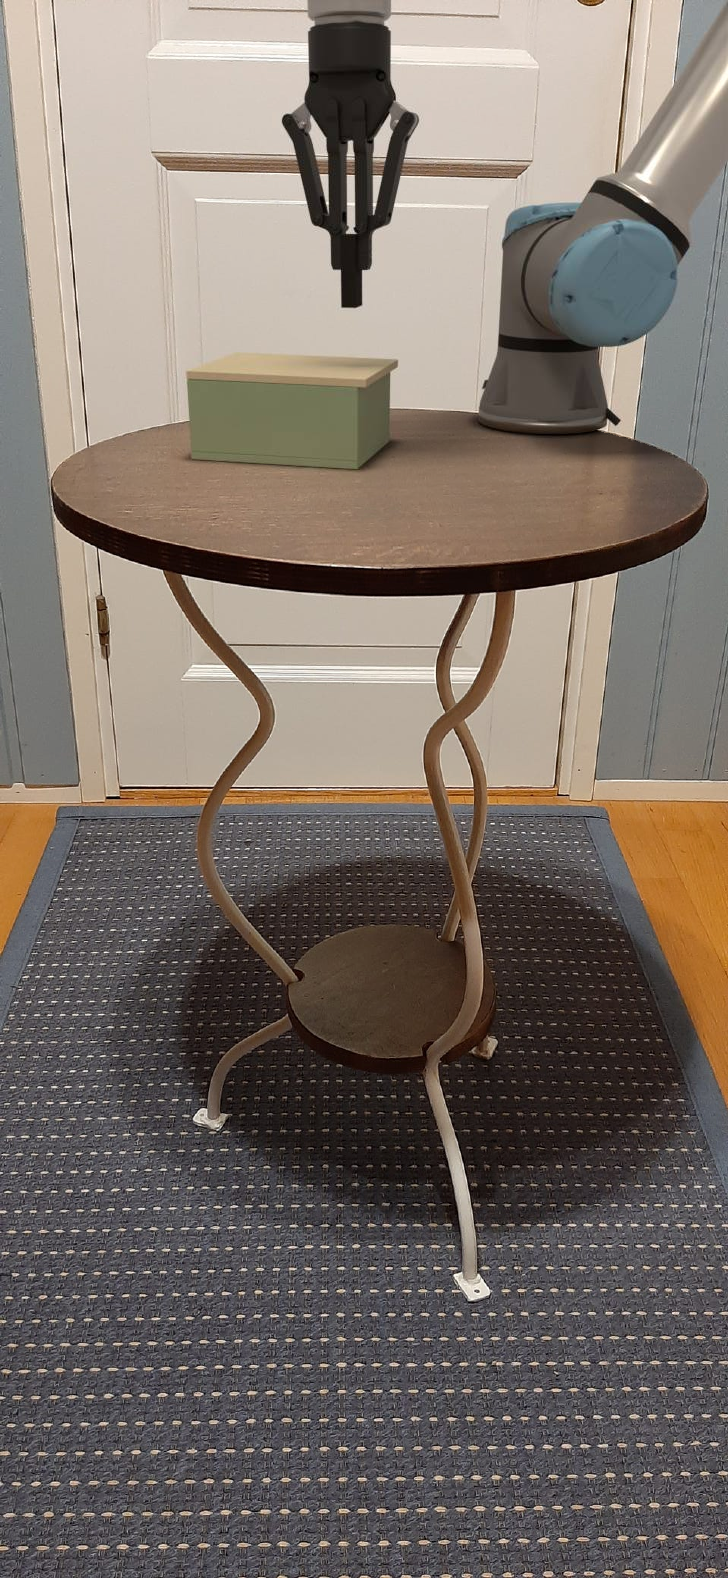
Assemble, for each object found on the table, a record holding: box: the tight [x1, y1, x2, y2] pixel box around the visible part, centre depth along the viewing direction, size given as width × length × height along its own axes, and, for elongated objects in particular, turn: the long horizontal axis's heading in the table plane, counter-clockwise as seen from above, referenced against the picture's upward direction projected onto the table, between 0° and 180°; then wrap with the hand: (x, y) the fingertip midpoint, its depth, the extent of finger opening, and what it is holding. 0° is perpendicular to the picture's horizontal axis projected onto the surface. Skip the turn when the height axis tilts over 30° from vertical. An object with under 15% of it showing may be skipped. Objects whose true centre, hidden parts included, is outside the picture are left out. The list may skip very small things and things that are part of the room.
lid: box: [186, 352, 399, 388], centre depth 119 cm, size 18×15×1 cm
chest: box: [186, 372, 391, 470], centre depth 121 cm, size 18×15×8 cm
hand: (351, 306), depth 115 cm, fingers closed
